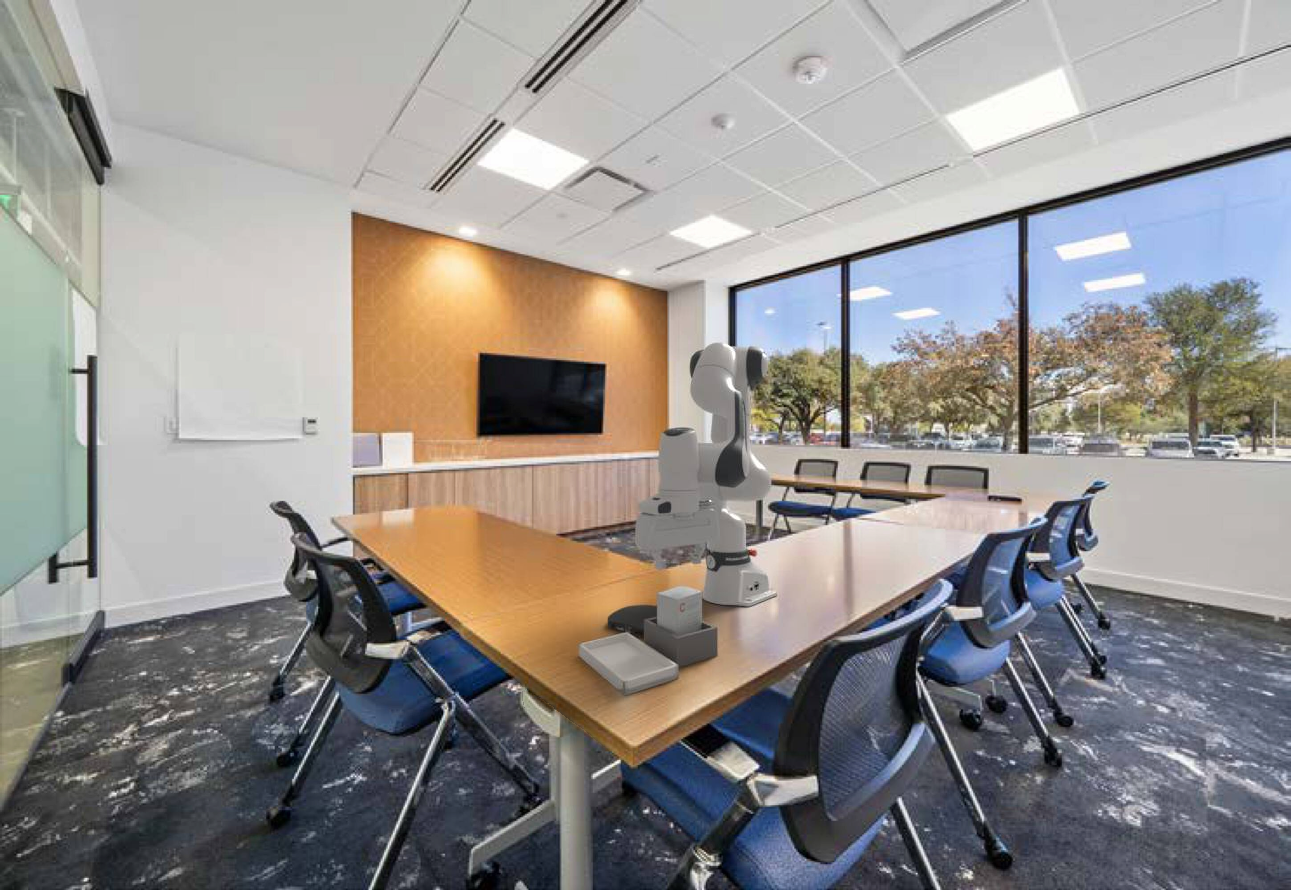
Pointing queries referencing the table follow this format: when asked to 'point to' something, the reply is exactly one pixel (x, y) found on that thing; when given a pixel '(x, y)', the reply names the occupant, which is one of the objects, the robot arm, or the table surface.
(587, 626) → the table surface
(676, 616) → the small box
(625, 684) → the tray
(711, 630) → the box
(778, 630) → the table surface
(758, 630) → the table surface
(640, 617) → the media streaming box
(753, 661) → the table surface
